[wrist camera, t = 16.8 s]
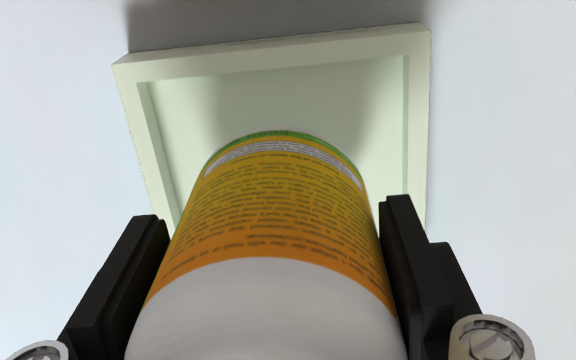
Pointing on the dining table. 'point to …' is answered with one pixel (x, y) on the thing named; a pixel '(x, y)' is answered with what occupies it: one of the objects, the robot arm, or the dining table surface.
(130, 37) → the dining table surface
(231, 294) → the supplement bottle
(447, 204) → the dining table surface
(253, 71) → the tray
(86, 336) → the robot arm
